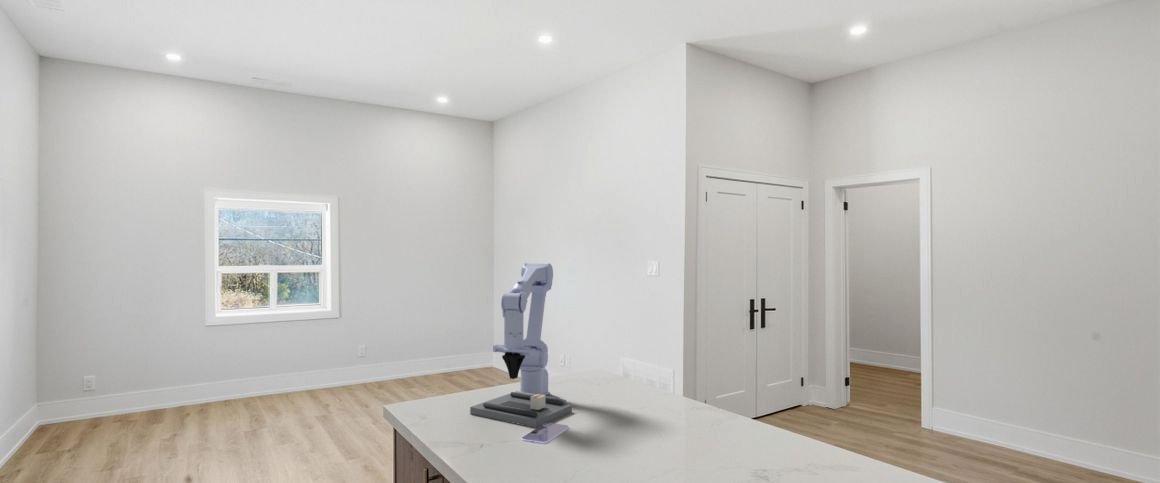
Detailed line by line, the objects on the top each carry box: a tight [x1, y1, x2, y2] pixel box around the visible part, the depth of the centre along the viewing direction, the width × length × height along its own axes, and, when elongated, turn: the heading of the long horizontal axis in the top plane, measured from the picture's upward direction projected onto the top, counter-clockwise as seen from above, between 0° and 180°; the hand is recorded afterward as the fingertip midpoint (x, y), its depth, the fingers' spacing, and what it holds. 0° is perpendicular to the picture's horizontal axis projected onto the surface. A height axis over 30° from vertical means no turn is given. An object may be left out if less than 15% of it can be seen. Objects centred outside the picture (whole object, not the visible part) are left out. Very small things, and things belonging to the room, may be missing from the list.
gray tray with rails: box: [483, 390, 567, 417], centre depth 173 cm, size 17×20×1 cm
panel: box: [469, 393, 573, 429], centre depth 172 cm, size 18×24×2 cm
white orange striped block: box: [530, 394, 546, 410], centre depth 169 cm, size 4×3×4 cm
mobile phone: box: [520, 422, 570, 445], centre depth 154 cm, size 8×1×15 cm
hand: (513, 378), depth 174 cm, fingers closed
